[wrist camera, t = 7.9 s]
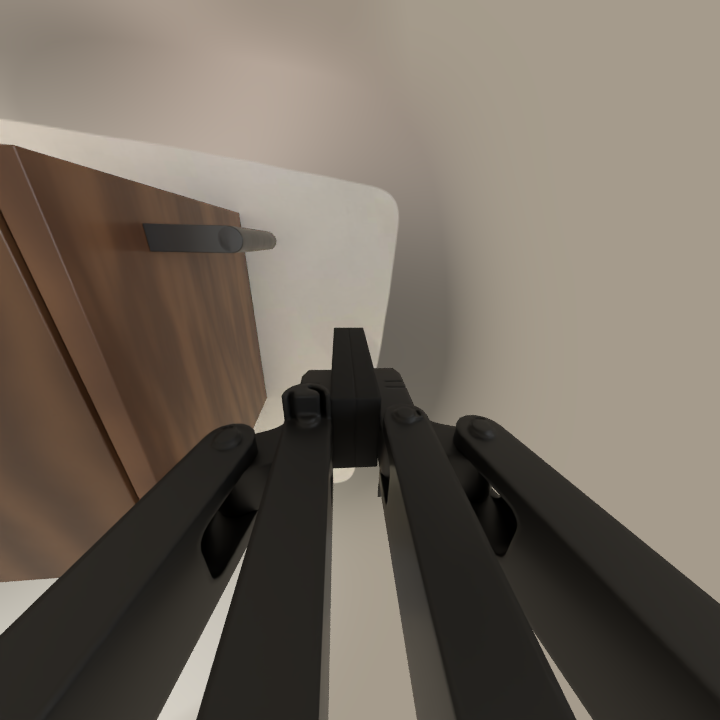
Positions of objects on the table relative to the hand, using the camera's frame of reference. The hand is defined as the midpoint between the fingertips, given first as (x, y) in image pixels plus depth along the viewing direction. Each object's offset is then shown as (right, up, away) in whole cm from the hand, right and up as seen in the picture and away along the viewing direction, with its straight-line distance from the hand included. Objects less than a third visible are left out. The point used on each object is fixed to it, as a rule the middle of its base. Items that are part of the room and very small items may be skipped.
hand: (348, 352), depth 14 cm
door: (-12, +5, +23) cm, 27 cm away
